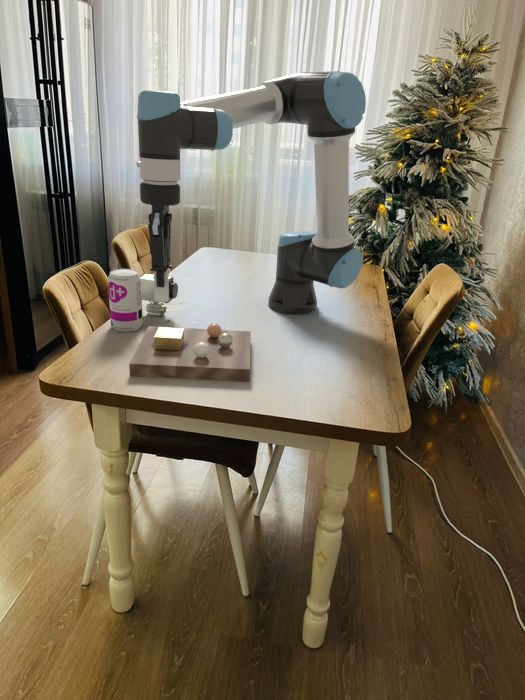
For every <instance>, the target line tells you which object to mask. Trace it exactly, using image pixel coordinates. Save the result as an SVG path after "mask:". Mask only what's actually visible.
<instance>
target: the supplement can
mask: <svg viewBox="0 0 525 700" xmlns="http://www.w3.org/2000/svg"><path fill="white" fill-rule="evenodd" d="M140 276H141V275H140V273H139V271H138V270H137V269H132V268H118V269H113V270H111V271H110V272H109V274H108V276H107V284H108V285H107V286H108V287H107V289H108V301H109V315H110V327H112V328H113V330H115V331H117V332H121V331H122V332H123V333H130V331H131V332H135V331H139V330H140V328H142V326H143V325H144V323H143V320H144V319H143V300H142V292H141V277H140Z"/></svg>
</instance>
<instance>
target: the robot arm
mask: <svg viewBox="0 0 525 700" xmlns="http://www.w3.org/2000/svg"><path fill="white" fill-rule="evenodd" d="M364 88H365V87H364V86H363V84H362V82H361V80H360V79H359V78H358V76H357V75H355V73H351V72H349V71H345V72H344V71H340V70H333V71H315V72H313V71H312V72H306V71H303V72H298V73H293V74H289V75H286V76H282V77H278V78H274V79H271V80H266V81H263V82H261V83H260V84H259V85H258V86H257V87H255V88H250V89H244V90H238V91H233V92H229V93H223V94H218V95H213V96H207V97H201V98H195V99H193V100H185V101H182V102H181V98H180V95H179V93H177V92H171V91H164V90H163V91H162V90H142V91H140V92H139V94H138V98H137V115H136V118H137V132H138V133H137V135H138V136H137V137H138V156H139V161H136V164H135V166H136V167H137V168H139V178H140V179H141V180H142V181H141V182H140V183H139V196H140V197H139V198H140V202H141V203H142V204H145V205H150V206H151V213H148V223H149V224H148V226H147V228H148V235H149V243H150V244H149V246H150V258H151V266H150V268H149V271H150V272H153V274H154V294H155V301H160V302H168V300H169V277H170V276H169V275H170V273H169V269H171V270H172V269H173V264H170V263H171V235H172V234H171V233H172V221H173V213H172V212H170V207H171V206H177V205H179V204H180V203H181V186H180V184H179V183H178V182H180V181H181V150H201V151H202V150H203V151H212V152H213V151H215V150H216V151H222V150H224V149H226V148H227V147H228V146H229V145H230V143H231V141H232V139H233V134H234V133H233V131H234V129H239V128H242V127H243V128H244V127H247V126H251V125H255V124H258V123H265V124H268V125H273V124H279V123H285V124H298V125H307V126H306V127H307V130H306V131H307V137H308V139H310V140H311V141H312V142H313V146H314V147H313V148H314V149H313V152H314V153H313V154H314V179H315V180H314V182H315V185H314V186H315V206H316V207H315V208H316V209H315V210H316V232H315V231H304V230H303V231H288V232H284V233H282V234H280V236H279V238H278V245H277V253H276V254H277V255H276V270H275V271H276V272H275V282H274V284H273V287H272V289H271V291H270V293H269V296H268V307H269V308H270V309H272V310H274V311H276V312H279V313H283V314H288V315H289V314H290V315H305V314H311V313H314V312H315V311H316V310H317V309H318V307H317V305H318V300H317V295H316V291H315V290H316V289H315V285H314V282H317V283H320V284H323V285H327V286H329V287H330V288H337V289H346V288H348V287H350V286H352V284H353V283H354V282H355V281H356V280H357V278H358V276H359V275H360V273H361V270H362V267H363V262H364V255H363V252H361V250H360V249H358V248H355V237H354V235H352V234H351V232H349V231H350V229H349V226H350V225H349V224H350V221H349V219H350V217H349V212H350V211H349V210H350V209H349V207H350V205H349V204H350V202H349V197H350V195H349V194H350V193H349V192H350V188H349V186H350V184H349V182H350V181H349V177H350V174H349V173H350V172H349V171H350V168H349V167H350V165H349V164H350V158H349V157H350V152H349V151H350V146H349V145H350V139H352V137H353V135H354V134H355V133H356V127H357V126H358V125H360V123H361V122H362V121H363V118H364V116H363V115H364V114H365V112H366V107H367V106H366V105H367V99H366V92H365V89H364Z"/></svg>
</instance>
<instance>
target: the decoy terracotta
mask: <svg viewBox="0 0 525 700" xmlns="http://www.w3.org/2000/svg"><path fill="white" fill-rule="evenodd" d="M206 329H207V333H208V335H209V336H210V337H213V338H216V337H218V336H219V335H220V334H221V330H222V328H221V325H219V324H218V323H210V324H209V325H208V326H207V328H206Z"/></svg>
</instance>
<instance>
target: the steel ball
mask: <svg viewBox="0 0 525 700" xmlns="http://www.w3.org/2000/svg"><path fill="white" fill-rule="evenodd" d="M232 342H233V339H232V337H231V336H230V335H229V334H227V333H224V334H221V335H220V336H219V338H218V344H219V346H220V347H222V348H228V347H230V346H231V345H232Z"/></svg>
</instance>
